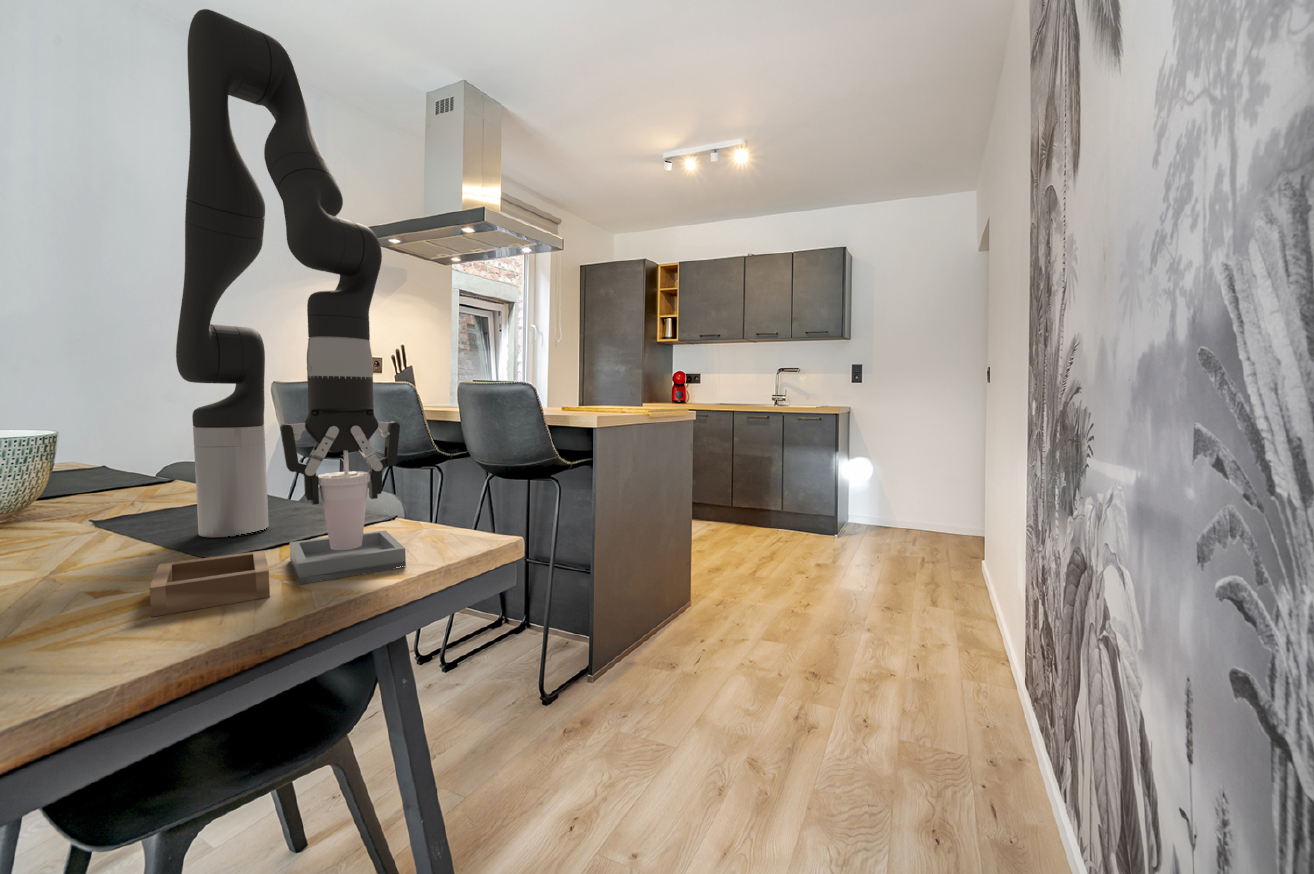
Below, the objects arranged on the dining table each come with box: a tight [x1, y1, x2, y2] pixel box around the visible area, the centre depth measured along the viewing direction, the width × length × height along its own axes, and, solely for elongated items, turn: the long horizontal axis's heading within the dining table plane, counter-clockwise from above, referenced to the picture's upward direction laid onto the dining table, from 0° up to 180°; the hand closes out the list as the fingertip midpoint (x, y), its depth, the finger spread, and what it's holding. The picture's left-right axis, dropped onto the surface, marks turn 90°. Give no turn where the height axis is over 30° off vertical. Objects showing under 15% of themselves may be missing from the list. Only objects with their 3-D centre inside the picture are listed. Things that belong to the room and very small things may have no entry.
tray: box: [289, 530, 407, 585], centre depth 76 cm, size 12×12×2 cm
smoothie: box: [317, 450, 371, 550], centre depth 76 cm, size 6×6×14 cm
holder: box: [149, 550, 271, 618], centre depth 65 cm, size 10×10×3 cm
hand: (344, 500), depth 76 cm, fingers closed on smoothie, 6 cm apart
